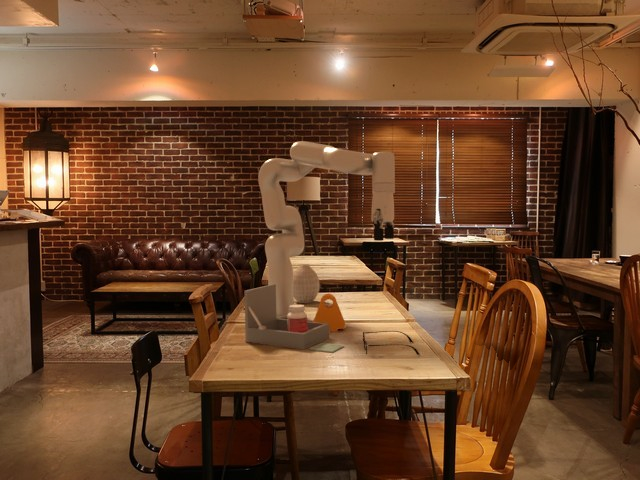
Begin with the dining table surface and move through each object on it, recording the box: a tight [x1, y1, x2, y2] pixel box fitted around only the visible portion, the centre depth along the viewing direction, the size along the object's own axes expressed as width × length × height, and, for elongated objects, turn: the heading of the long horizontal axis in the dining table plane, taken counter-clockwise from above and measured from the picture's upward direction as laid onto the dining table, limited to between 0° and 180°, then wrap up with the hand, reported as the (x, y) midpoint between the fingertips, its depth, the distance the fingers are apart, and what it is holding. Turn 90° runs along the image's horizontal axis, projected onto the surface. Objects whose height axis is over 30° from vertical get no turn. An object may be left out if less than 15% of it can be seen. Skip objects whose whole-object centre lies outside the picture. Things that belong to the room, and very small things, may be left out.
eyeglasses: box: [362, 330, 420, 355], centre depth 157 cm, size 16×16×4 cm
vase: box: [293, 263, 320, 304], centre depth 236 cm, size 13×13×17 cm
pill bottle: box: [286, 304, 308, 333], centre depth 167 cm, size 6×6×11 cm
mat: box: [309, 342, 345, 354], centre depth 158 cm, size 8×8×1 cm
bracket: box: [312, 293, 346, 332], centre depth 183 cm, size 11×7×12 cm, turn 90°
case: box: [243, 284, 330, 350], centre depth 168 cm, size 21×16×16 cm
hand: (384, 239), depth 182 cm, fingers open, 9 cm apart
